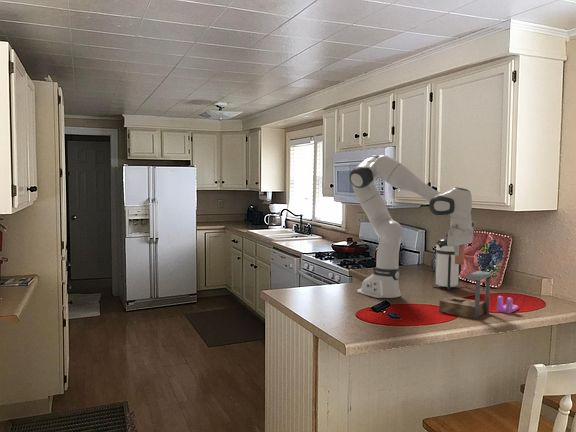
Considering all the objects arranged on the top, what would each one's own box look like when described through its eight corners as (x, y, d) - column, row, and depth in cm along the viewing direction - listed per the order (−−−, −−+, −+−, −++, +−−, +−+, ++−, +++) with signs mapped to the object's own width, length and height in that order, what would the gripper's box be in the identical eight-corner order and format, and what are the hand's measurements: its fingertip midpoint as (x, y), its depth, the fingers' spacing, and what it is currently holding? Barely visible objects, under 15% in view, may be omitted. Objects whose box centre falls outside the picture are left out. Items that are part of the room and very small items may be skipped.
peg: (461, 264, 224) (462, 244, 223) (453, 263, 227) (453, 243, 226) (465, 263, 227) (466, 243, 226) (456, 262, 230) (457, 243, 229)
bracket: (509, 313, 226) (509, 298, 226) (496, 311, 230) (497, 296, 229) (519, 308, 235) (520, 294, 235) (507, 306, 239) (508, 292, 239)
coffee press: (464, 291, 269) (466, 235, 267) (433, 289, 272) (435, 234, 270) (460, 284, 286) (462, 232, 284) (431, 283, 289) (432, 231, 287)
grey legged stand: (464, 317, 219) (465, 275, 218) (476, 310, 230) (478, 270, 228) (478, 319, 215) (479, 277, 214) (489, 313, 226) (491, 272, 224)
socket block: (439, 311, 228) (439, 300, 227) (450, 306, 237) (450, 296, 236) (474, 318, 217) (474, 307, 217) (484, 313, 226) (484, 302, 226)
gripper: (458, 226, 215) (456, 258, 217) (476, 223, 231) (475, 252, 232) (443, 225, 220) (442, 256, 221) (462, 222, 235) (461, 251, 236)
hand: (459, 254), depth 226 cm, fingers closed on peg, 4 cm apart
